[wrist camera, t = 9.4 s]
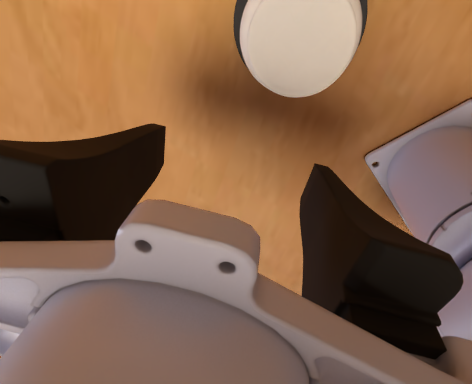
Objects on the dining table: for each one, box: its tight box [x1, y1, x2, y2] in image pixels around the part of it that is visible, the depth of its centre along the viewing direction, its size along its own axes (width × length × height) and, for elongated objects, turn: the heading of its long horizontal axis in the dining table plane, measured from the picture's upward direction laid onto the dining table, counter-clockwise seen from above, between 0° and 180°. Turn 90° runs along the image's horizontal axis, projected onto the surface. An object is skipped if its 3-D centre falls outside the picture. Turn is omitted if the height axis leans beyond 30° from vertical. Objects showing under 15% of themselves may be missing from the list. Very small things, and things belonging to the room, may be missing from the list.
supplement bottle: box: [240, 0, 362, 98], centre depth 14 cm, size 5×5×10 cm
